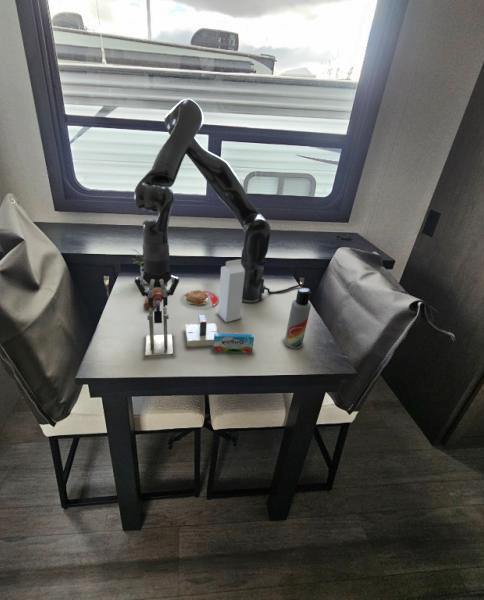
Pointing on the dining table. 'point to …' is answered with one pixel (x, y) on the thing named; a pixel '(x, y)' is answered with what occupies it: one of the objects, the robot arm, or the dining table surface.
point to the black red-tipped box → (202, 325)
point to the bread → (146, 305)
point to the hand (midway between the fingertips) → (158, 305)
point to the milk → (231, 290)
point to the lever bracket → (158, 338)
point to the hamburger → (200, 297)
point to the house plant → (141, 266)
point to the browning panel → (195, 338)
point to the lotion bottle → (298, 319)
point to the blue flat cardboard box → (233, 343)
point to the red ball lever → (157, 307)
